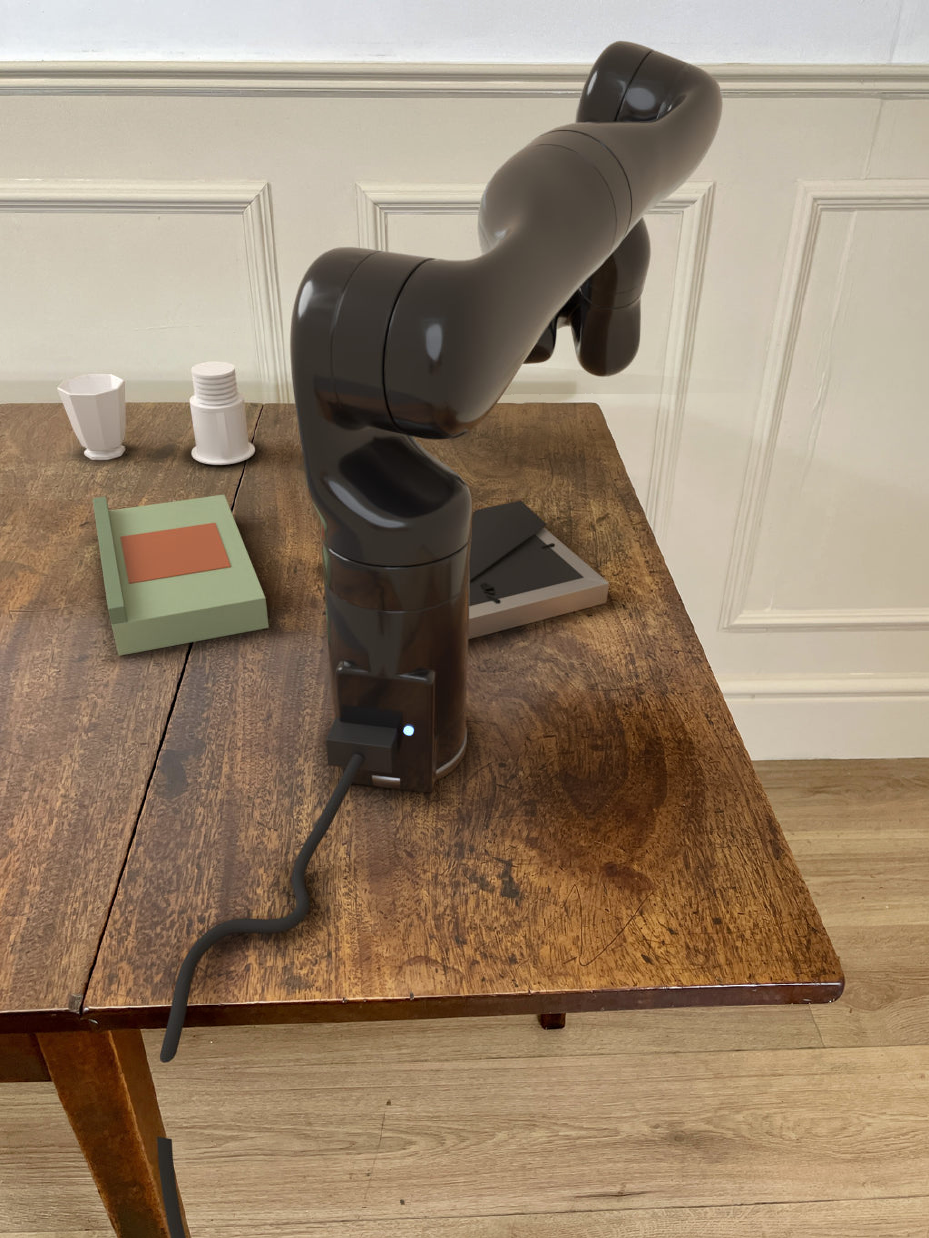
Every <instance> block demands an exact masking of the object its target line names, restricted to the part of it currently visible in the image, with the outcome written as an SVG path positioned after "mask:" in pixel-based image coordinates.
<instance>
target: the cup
mask: <svg viewBox="0 0 929 1238" xmlns="http://www.w3.org/2000/svg"><path fill="white" fill-rule="evenodd" d="M56 390H57V392H58V396H59V398H60V399H61V402H62V405H63V407H64V409H65V412H66V414H67V416H68V421H69V423H70V425H71V428H72V430H73V432H74V434H75V436H76V439H77V440H78V441H79V443H80V445H81V446H82V447H83V448H85V450H84V451H83V454H84V456H85V457H87V458H89V459H90V460H92V461H108V460H112V459H115V458H119V457H121V456H122V455H123V454H124V452H125V451H126V446H124V445H122V444H123V443H124V441H125V437H126V424H127V416H126V415H127V414H126V380H125V379H123V378H121V377H120V376H119V377H118V376H117V375H114V374H113V373H86V374H85V373H84V374H81V375H77V376H73V377H69V378H66V379H64V380H63V381H62V382H61V383H60V384H59V385H58V387H57V388H56Z"/></svg>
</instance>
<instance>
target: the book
mask: <svg viewBox="0 0 929 1238" xmlns="http://www.w3.org/2000/svg"><path fill="white" fill-rule="evenodd" d="M92 505H93V512H94V520H95V526H96V533H97V540H98V548H99V554H100V563H101V568H102V576H103V585H104V590H105V597H106V604H107V611H108V615H109V621H110V624H111V628H112V633H113V637H114V643H115V647H116V652H117V656H118V657H121V656H125V655H131V654H136V653H141V652H142V653H143V652H147V651H152V650H157V649H162V648H168V647H174V646H179V645H184V644H189V643H196V642H199V641H205V640H211V639H217V638H222V637H226V636H232V635H237V634H238V635H239V634H244V633H248V632H253V631H254V632H255V631H259V630H264V629H268V628H270V627H269V617H268V607H267V600H266V599H267V598H266V596H265V592H264V590H263V588H262V586H261V582H260V581H259V578H258V576H257V573H256V571H255V568H254V565H253V563H252V561H251V558H250V556H249V552H248V550H247V548H246V545H245V543H244V541H243V538H242V535H241V533H240V530H239V527H238V526H237V523H236V520H235V518H234V515H233V512H232V509H231V508H230V505H229V502H228V500H227V497H226V494H216V495H210V496H204V497H203V496H202V497H196V498H189V499H182V500H174V501H168V502H160V503H153V504H147V505H140V506H132V507H126V508H125V507H123V508H120V509H112V510H111V509H110V510H109V505H108V500H107V496H99V497H98V496H97V497H92Z"/></svg>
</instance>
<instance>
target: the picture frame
mask: <svg viewBox="0 0 929 1238" xmlns="http://www.w3.org/2000/svg"><path fill="white" fill-rule="evenodd" d="M545 527H547V523H546V521H545V520H543V519H542V518H541V517H540V516H539V515H538V514H536V512H534V511H533V510H532V509H531V508H530V507H529V506H528V505H527V504H526V503H525V502H523V501H522V500H517V501H511V502H508V503H503V504H497V505H493V506H488V507H483V508H478V509H475V510H474V511H473V524H472V547H471V574H470V603H469V635H468V640H472V639H476V638H479V637H483V636H487V635H491V634H495V633H498V632H501V631H505V630H509V629H513V628H517V627H521V626H525V625H528V624H532V623H536V622H539V621H543V620H548V619H551V618H555V617H558V616H562V615H566V614H570V613H573V612H574V613H575V612H577V611H581V610H584V609H589V608H593V607H596V606H600V605H603V604H606V603H608V602H607V601H608V594H609V587H610V586H609V585H610V582H608V581H607V580H606V579H605V578H604V577H603V576H601V575H600V574H599V573H598V572H597V571H596V570H595V569H593V568H592V567H591V566H589V564H587V562H585V561H584V560H583V559H581V557H580V556H578V555H577V554H576V553H574V552H573V550H571V549H570V548H569V547H567V545H565V544H564V543H563V542H562V541H560V540H559V539H558V538H557V537H556V536H555V535H554V534H553V533H551V532H550V531H549V530H548V529H547V528H545ZM321 559H322V562H323V557H322V556H321Z"/></svg>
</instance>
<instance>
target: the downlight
mask: <svg viewBox="0 0 929 1238" xmlns="http://www.w3.org/2000/svg"><path fill="white" fill-rule="evenodd" d="M190 372H191V378H192V387H193V395H192V396H191V397H190V398H189V406H190V413H191V421H192V426H193V435H194V440H195V446H194V447H193V448H192V450H191V458H193V459H194V460H195V461H197V462H199V463H202V464H206V465H213V466H223V465H231V464H232V465H233V464H237V463H240V462H244V461H246V460H248V459H249V458H251V457H252V456H253V455H254V454H255V452H256V448H255V445H254V444H253V443H252V442H250V441H249V433H248V422H247V415H246V405H245V397H244V395H243V393H241V392H238V385H237V377H236V367H235V365H234V364H232V363H230V362H228V361H227V362H226V361H218V360H217V361H216V360H215V361H205V362H201V363H197V364H195V365H193V366H192V367H191V369H190Z"/></svg>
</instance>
